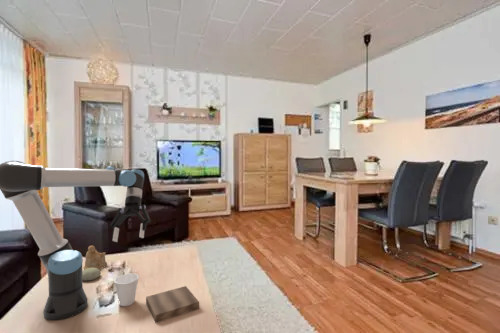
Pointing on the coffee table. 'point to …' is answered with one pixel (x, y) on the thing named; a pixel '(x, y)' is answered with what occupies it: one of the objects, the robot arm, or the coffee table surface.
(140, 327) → the coffee table surface
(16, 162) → the robot arm
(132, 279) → the cup
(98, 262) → the statue
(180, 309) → the wooden block
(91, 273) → the sea urchin shell
